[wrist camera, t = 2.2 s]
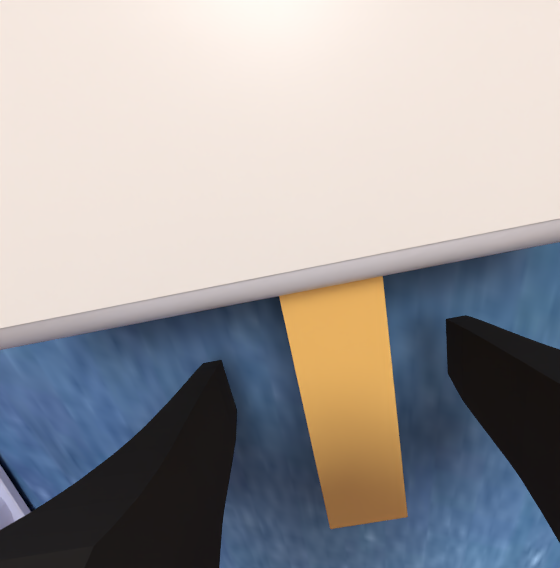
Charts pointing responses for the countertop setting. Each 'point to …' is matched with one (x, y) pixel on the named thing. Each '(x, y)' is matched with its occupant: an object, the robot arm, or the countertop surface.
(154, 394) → the countertop surface
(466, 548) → the countertop surface
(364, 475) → the tab
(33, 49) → the dispenser
